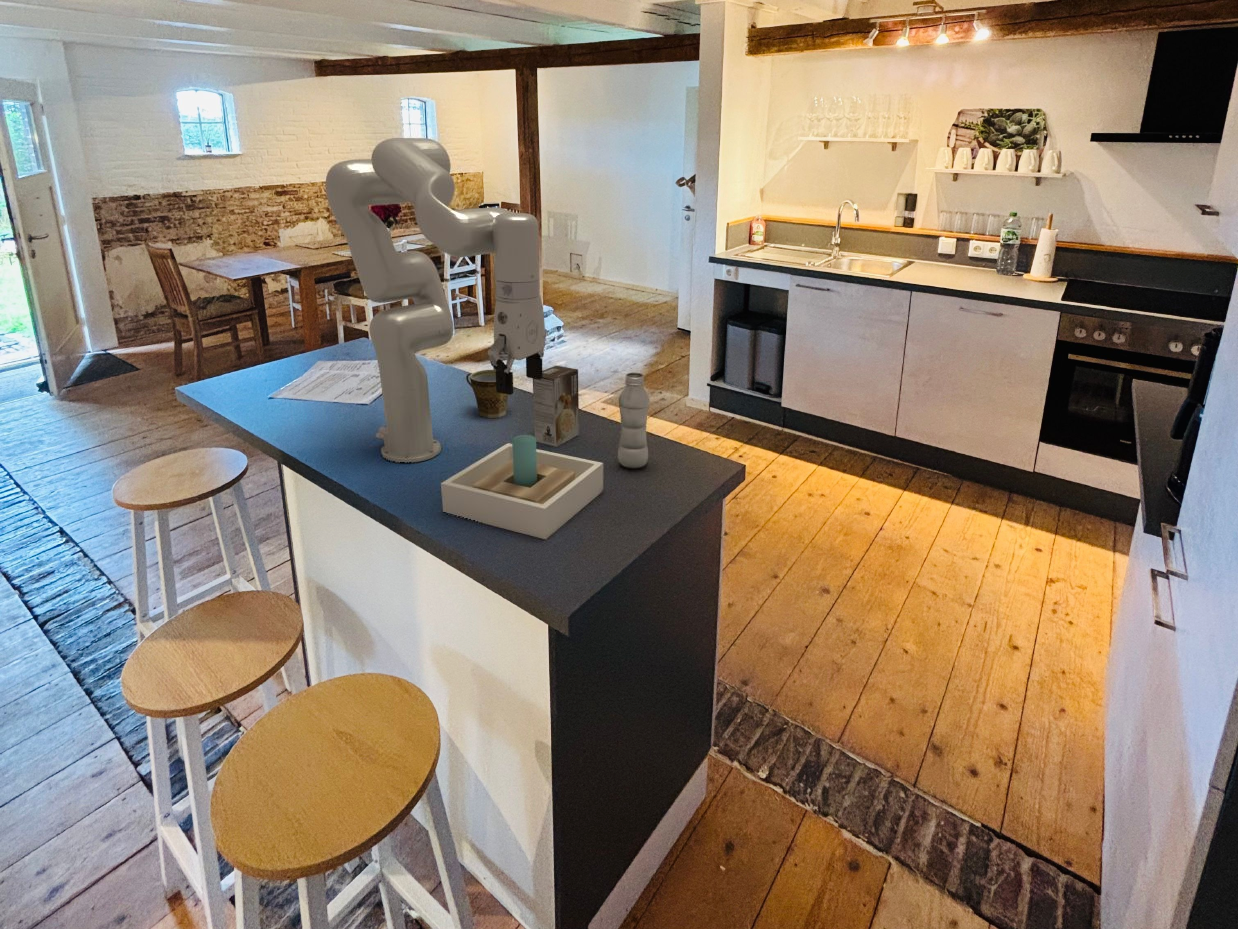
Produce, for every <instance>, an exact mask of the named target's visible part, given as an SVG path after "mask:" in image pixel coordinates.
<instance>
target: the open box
mask: <svg viewBox="0 0 1238 929" xmlns="http://www.w3.org/2000/svg"><path fill="white" fill-rule="evenodd" d="M536 456H537V464H540V465H544V466H549V467H554V468H558V469H563V470H567V471H572V472H575V480H574V481H572V482H571V483H570V484H568V485H567V486H566V487H565V488H563V489H562V490H561V491H559V492H558V493H557V494H556V495H554V496H553V497H552V498H550V499H549V500H548V501H546V502H545V503H544V504H539V503H534V502H530V501H526V500H522V499H518V498H514V497H510V496H505V495H501V494H497V493H493V492H489V491H485V490H481V489H476V488H473V487H472V485H474V484H475V483H477V482H478V481H480V480H482V479H483V478H485V477H486V476H488V475H489V474H491V473H493V472H494V471H496V470H497V469H499V468H500V467H502V466H504V465H505V464H507V463H508V462H510V461H511V460H513V450H512V443H506V444H504V445H502V446H500V447H499V448H498V449H496V450H494V451H492V452H491V453H489V454H488V455H486V456H484V457H482V458H481V459H479V460H477V461H475V462H474V463H472V464H470V465H469V466H467V467H465V468H463V470H461V471H459V472H457V473H456V474H454V475H452V476H451V477H449V478H447V479H446V480H444V481H443V482H441V483H440V487H441V488H440V490H441V499H442V511H443V512H447V513H451V514H454V515H457V516H456V517H458V516H462V517H464V518H463V519H465V518H468V519H467V520H469V519H471V520H470V521H473V520H475V522H477V521H478V522H477V523H481V522H482V524H484V525H488V526H489V525H490V526H491V527H492V526H493V527H497V528H501V529H505V530H508V531H512V532H516V533H520V534H523V535H527V536H532V537H535V538H538V539H543V540H547V539H548V538H549V537H551V536H552V535H553V534H554V533H555V532H557V530H559V529H560V528H561V527H562V526H564V525H565V524H566V523H567V522H568V521H569V520H571V519H572V518H573V517H574V516H575V515H577V513H579V512H580V511H581V510H582V509H584V508H585V507H586V506H587V505H588V504H589V503H590V502H592V501H593V500H595V498H596V497H598V496H599V495H600V494H601V493H602V492H603V491H604V462H599V461H596V460H595V461H594V460H589V459H585V458H581V457H576V456H571V455H566V454H563V453H556V452H551V451H548V450H542V449H538V448H536ZM454 515H453V516H454ZM462 517H461V518H462Z"/></svg>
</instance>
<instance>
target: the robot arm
mask: <svg viewBox="0 0 1238 929" xmlns="http://www.w3.org/2000/svg"><path fill="white" fill-rule="evenodd" d="M451 165H452V164H451V160H450V156H449V153H448V151H447V150H446V149H445V147H444V146H443V145H442V144H441V143H440V142H438V140H435V139H432V138H427V137H426V138H424V137H420V138H419V137H393V138H387V139H385V140H382V141H381V142H379V143H377V145H376V146H375V147H374V149H373V150H372V152H371V158H370V159H369V158H360V159H357V158H356V159H348V160H343V161H339V162H337V163H335V164H334V165H332V166H331V167H330V169H329V170H328V172H327V173H326V178H325V184H324V186H325V194H326V201H327V203H328V206H329V209H330V211H331V214H332V215H333V217H334V219H335V221H336V223H337V225H338V227H339V228H340V230H341V233H343V236H344V237H345V240H346V243H347V245H348V249H349V252H350V254H351V255H350V256H351V258H352V261H353V264H354V267H355V269H356V272H357V276H358V279H359V281H360V284H361V287H362V290H363V291H364V294H365V296H366V297H367V298H368V299H369V300H370V301H371V302H373V303H376V304H377V303H379V304H382V303H383V304H385V303H392V302H393V303H394V302H398V301H404V300H405V301H406V300H409V299H410V300H411V299H412V302H413V303H414V304H408V305H403V306H396V307H390V308H387V309H384V310H382V311H381V310H380V312H378V313H377V314H375V315H374V316H373V317H372V318H371V320H370V323H369V328H368V329H369V330H368V331H369V336H370V339H371V340H370V341H371V342H372V346H373V349H374V353H375V356H376V360H377V364H378V371H379V378H380V386H381V393H382V401H383V402H382V403H383V411H384V413H383V414H384V421H385V426H380V427H379V428H378V431H377V432H376V433H375V439H378V440H383V441H384V442H383V443H384V445H383V446H382V447H381V449H380V451H381V455H383V456H382V457H383V458H384V459H385V458H386V459H385V460H387V459H388V461H389V460H390V462H393V461H395V462H394V463H400V462H405V463H406V464H407V462H408V464H409V462H411V463H418V462H422V461H427V460H430V459H432V458H434V457H436V456H438V455H439V454H440V453H441V450H442V447H441V446H442V445H441V443H440V442H439V441H438V440H437V439H436V438H434V435H433V425H432V413H431V404H430V392H429V381H428V374H427V370H426V368H425V367H424V366H425V365H423V364H422V362H421V361H420V360H419V358H417V355H416V354H417V353H418V352H421V351H425V350H429V349H434V348H437V347H441V346H444V345H446V344H447V343H449V342H450V341H451V340H452V338H453V335H454V321H453V317H452V312H451V308H450V307H449V303H448V300H447V297H446V294H445V290H444V287H443V284H442V281H441V278H440V274H439V272H438V270H437V269H438V268H437V267H436V265H435V263H434V262H433V260H432V259H431V258H430V257H429V256H428V255H427V254H425V253H424V252H422V251H418V250H408V251H398V250H397V249H396V247H395V245H394V242H393V240H392V236H391V234H390V231H389V229H388V228H387V225H386V224H385V223H384V222H383V221H382V219H381V218H380V217H379V216H378V215H377V214H376V213H374V212H373V211H371V210H370V208H369V206H382V205H383V206H384V205H397V204H399V205H400V204H407V203H410V204H411V205H412V206H413V208H414V210H413V211H414V216H415V220H416V224H417V227H418V228H419V231H420V232H421V234H422V235H423V236H424V237H425V238H426V240H427V241H429V242H430V243H432V244H433V245H434V247H436V248H438V249H439V250H440V251H442V252H443V253H444V254H446V255H448V256H452V257H455V258H467V257H475V256H480V255H490V254H493V269H494V270H493V271H494V290H495V291H494V292H495V294H494V296H495V305H494V315H493V317H494V318H493V343H492V345H491V346H490V347H489V349H488V350H487V355H488V356H487V357H488V358H489V360H490V362H489V363H490V365H491V366H492V370H494V371H495V372H496V391H497V392H498V393H503V394H508V396H511V395H513V394H514V375H513V372H512V371H511V370H512V367H513V365H514V361H522V360H525V372H526V373H525V376H526V378H529V379H532V380H533V379H538V380H540V379H542V378H543V373H542V371H543V358H544V355H545V353H544V349H545V347H546V339H547V334H548V330H547V329H546V326H545V324H546V323H545V314H544V307H543V301H542V297H541V295H540V244H539V243H540V240H539V239H540V238H539V237H540V236H539V220H538V219H537V217H535V215H532V214H530V213H527V212H526V213H524V212H513V211H510V210H509V209H506V208H503V207H483V208H478V207H477V208H468V209H467V208H466V209H457V210H456V209H453V208H451V207H449V206H450V204H451V202H452V201H453V199H454V195H455V191H456V185H455V181H454V178H453V177H452V174H450V172H451ZM504 360H506V362H504ZM405 463H404V464H405Z"/></svg>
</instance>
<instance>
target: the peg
mask: <svg viewBox="0 0 1238 929" xmlns="http://www.w3.org/2000/svg"><path fill="white" fill-rule="evenodd" d="M511 444H512V450H513V474H514V484H516V485H520V486H524V487H528V488H531V487H532V486H533V485H535V484H536V483H537V456H536V449H537V442H536V438H535V435H531V434H520V435H514V436H513V437H512V439H511Z"/></svg>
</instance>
